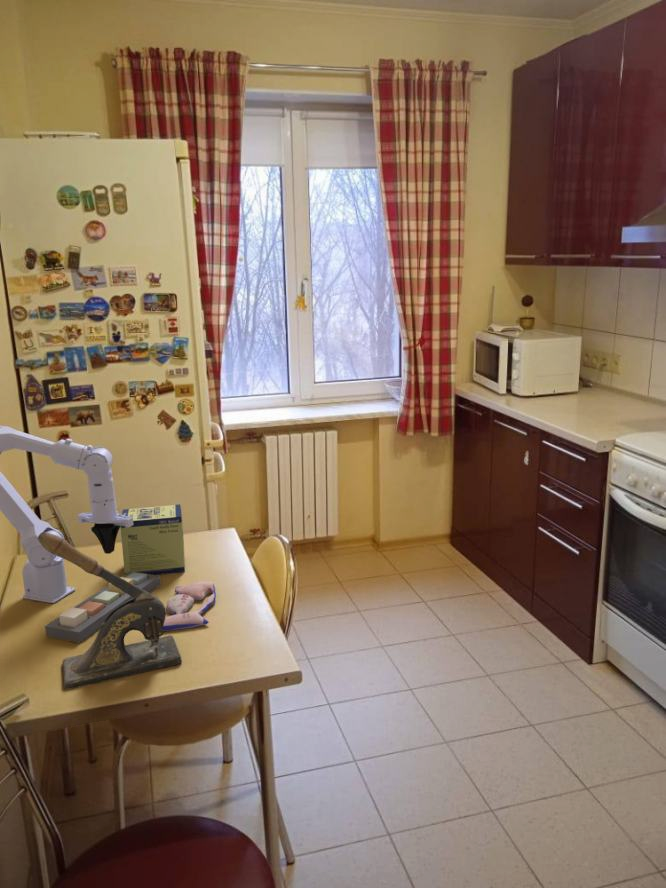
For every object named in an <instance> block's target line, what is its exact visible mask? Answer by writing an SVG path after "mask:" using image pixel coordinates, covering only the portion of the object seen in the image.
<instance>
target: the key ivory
mask: <svg viewBox="0 0 666 888" xmlns="http://www.w3.org/2000/svg"><path fill="white" fill-rule="evenodd" d="M58 617H59V618H60V625H63V626H69V627H74V628H76V627H77V626H79V625H80V624H82V623H83V622H85V621H86V620H88V618H87V610H85V609H79V608H74V606H73V607H70V608H68V609H67V610H65V611H64V612H63V613H60V614H59V615H58Z"/></svg>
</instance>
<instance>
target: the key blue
mask: <svg viewBox="0 0 666 888" xmlns="http://www.w3.org/2000/svg"><path fill="white" fill-rule="evenodd" d="M125 578H130V579H133V584H136V585H139V584H140V583H141V582H143V581H144V580H146V579H147V574H142V573H135V572H133V573H131V574H130V575H128V576H127V577H125Z"/></svg>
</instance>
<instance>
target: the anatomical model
mask: <svg viewBox="0 0 666 888" xmlns="http://www.w3.org/2000/svg"><path fill="white" fill-rule="evenodd" d="M214 584H215V583H213V582H211V581H198V582H194V583H189V584H186V585H182V586H177V587H175V588H174V592H175V595H173V596H170V597H169V598H168V599H167V602H166V609H167V612H168V613H170V614H172V615H170V616H166V617H165V621H164V625H163V632H167V631H176V630H183V629H184V630H186V629H193V628H195V627H196V628H197V627H201V626H203V625H204V626H205V625H207V624H209V623H210V622H209V621H208V620H207V619H205V618H204V617H203V616H202V615H201V614H203V613H205V612H206V611H207V610H208V608H209V607H211V606H212V605H213V604H215V602H216V596H217V594H216V592H217V591H216V588H215V585H214ZM210 593H212V594H211V595H210V596H208V597H207V598H206V600H205V603H204V604H203V605H202V606H200V608H198V609H197V610H196V611H189V609H190V608H191V607H192V605H194V603H195V601H201V600H204V598H205V597H206V596H207V595H208V594H210Z"/></svg>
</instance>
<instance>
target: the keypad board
mask: <svg viewBox="0 0 666 888" xmlns="http://www.w3.org/2000/svg"><path fill="white" fill-rule="evenodd" d="M131 573H133V572H131V571H129V572H128V573H126V574H125V573H124V574H123V575H122V576H121V577H123V578H125V577H127V576H128V575H130V574H131ZM135 573H137V572H135ZM142 574H144V573H142ZM133 585H135V586H136V587H138V588H140V589H143V590H145V591H147V592H149V593H150V594H151V593H152V592H154V591H155V590H156V589H157V588H158V587H160V586H161V576H160V575H151V574H147V579H146V580H144V581H143V582H141V583H140V584H139V585H136V584H133ZM104 591H109V584H108V585H106V586H105V587H103V588H102V589H100V590H99V591H97V592H96V593H93V594H92V595H91V596H90V597H87V598H86V599H84V600H83V601H81V602H80V603H79V604H77V605H75V606H73V608H79V607H81V606H82V605H84V604H85V603H87V602H88V601H91V602H94V598H95V597H96V596H98V595H99V594H101V593H102V592H104ZM131 599H133V597H132V596H130V595H128V594H127V593H125V594H124V595H123V594H119V598H118V599H117V600H115V601H114V602H112V603H111V604H109V605H106V604H104V609H102V610H101V611H99V612H98V613H96V614H95V615H93V616H90V615H87V618H88V620H86V621H85V622H83V623H82V624H80V625H79V626H77V627H76V628H74V627H69V626H63V625H60V618H59V616H58V617H57V618H56V619H53V620H52V621H51V622H49V623H47V624H45V626H44V628H45V636H46V637H47V638H53V639H58V640H63V641H68V642H71V643H72V642H74V643H77V644H81V643H82V642H84V641H85V640H87V639H88V638H89V637H90V636H92V635H94V634H95V633H97V632H99V630H100V628H101V624H102V623H103V622H104V621H105V619H106V618H107V617H108V615H109V614H110V613H111V612H112V611H113V610H114V609H116V608H117V607H118V606H120V605H122V604H123V603H125V602H127V601H128V600H131Z"/></svg>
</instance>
